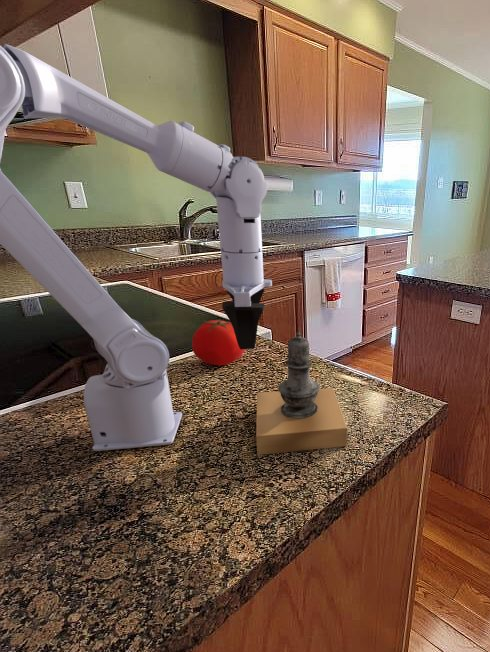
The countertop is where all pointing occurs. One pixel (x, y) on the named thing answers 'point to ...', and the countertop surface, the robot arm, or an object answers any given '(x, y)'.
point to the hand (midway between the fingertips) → (247, 339)
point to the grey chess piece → (298, 381)
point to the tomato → (216, 343)
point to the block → (299, 425)
